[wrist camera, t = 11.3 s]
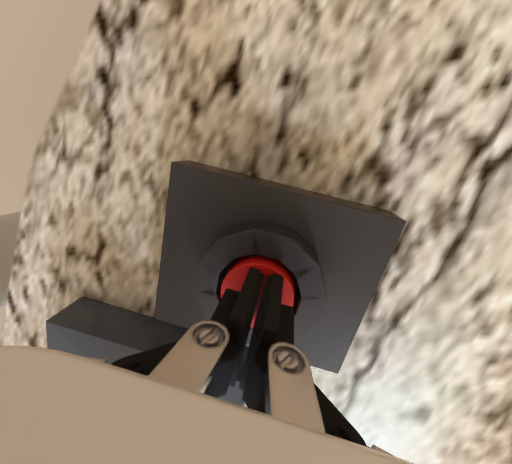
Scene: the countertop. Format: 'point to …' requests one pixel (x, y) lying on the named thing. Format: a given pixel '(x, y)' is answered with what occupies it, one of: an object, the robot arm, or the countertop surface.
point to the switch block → (273, 252)
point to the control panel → (116, 335)
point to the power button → (267, 267)
